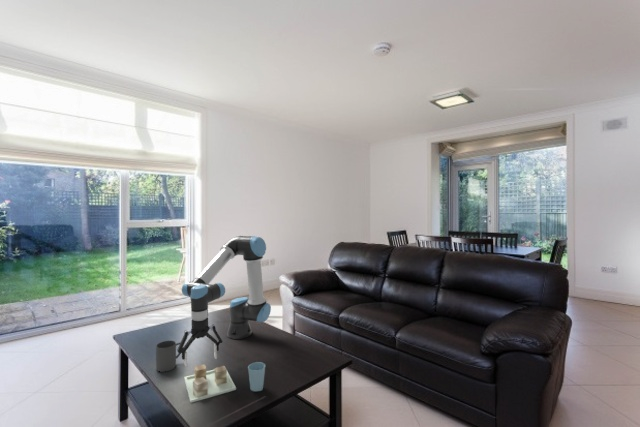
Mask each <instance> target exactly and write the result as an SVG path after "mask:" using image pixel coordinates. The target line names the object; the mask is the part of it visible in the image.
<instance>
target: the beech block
mask: <svg viewBox="0 0 640 427" xmlns="http://www.w3.org/2000/svg"><path fill="white" fill-rule="evenodd" d="M214 369H215V383H216V385H220V384H224V383H227V372H228V370H227V368H226V366H225V365H221V366H217V367H214Z"/></svg>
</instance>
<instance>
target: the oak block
mask: <svg viewBox="0 0 640 427" xmlns="http://www.w3.org/2000/svg"><path fill="white" fill-rule="evenodd" d="M206 371H207V367H206V364H201V365H197V366H194V374H195V380H197V379H199V378H202V377H204V378H205V379H206Z"/></svg>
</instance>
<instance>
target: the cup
mask: <svg viewBox="0 0 640 427" xmlns="http://www.w3.org/2000/svg"><path fill="white" fill-rule="evenodd" d="M247 371H248V379H249V388H250V391H252V392H261V391H263V390H264V389H263V388H264V384H265V382H264V381H265V374H266V363H264V362H261V361H256V362H252V363H250V364H248V366H247Z"/></svg>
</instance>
